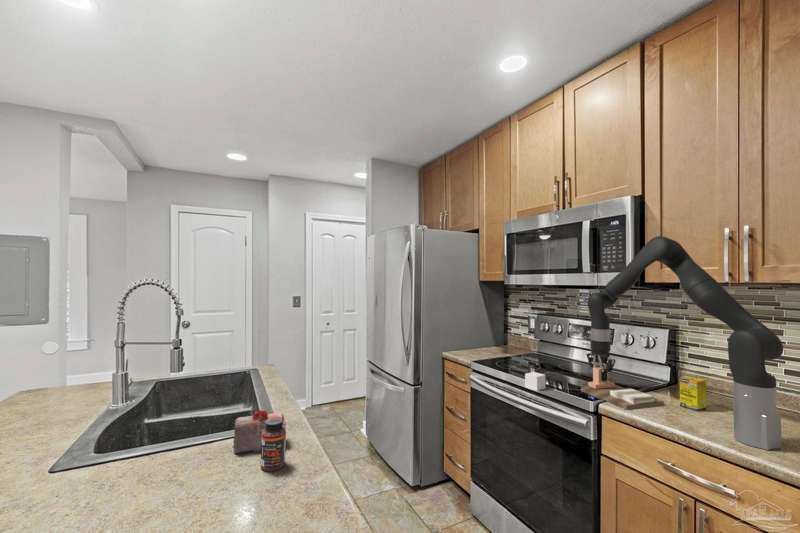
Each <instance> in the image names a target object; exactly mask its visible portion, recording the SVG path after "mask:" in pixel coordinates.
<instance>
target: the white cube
mask: <svg viewBox="0 0 800 533" xmlns="http://www.w3.org/2000/svg"><path fill="white" fill-rule="evenodd" d="M524 388H527V389H529V390H533V391H536V392H538V391H541V390H545V389H546V374H544V373H539V372H536V371H531V372H528V373H524Z"/></svg>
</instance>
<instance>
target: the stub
mask: <svg viewBox="0 0 800 533" xmlns="http://www.w3.org/2000/svg"><path fill="white" fill-rule="evenodd" d="M604 369H605V367H604ZM601 372H602V371H601V367H595V368H592V381H588V382H587V383H588V384H587V387H592V388H595V389H600V388H610V387H615V385H616V383H615V382H613V381H611V380H609V372H608V373H607V381H602V380H601Z"/></svg>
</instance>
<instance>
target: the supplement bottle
mask: <svg viewBox="0 0 800 533" xmlns="http://www.w3.org/2000/svg"><path fill="white" fill-rule="evenodd" d="M286 430H287V429H286ZM286 430H285V428H284V427H282V419H279V418H274V419H270V420H268V421H266V429H264V430H263V432H262V435H261V451H260V469H262V470H263V471H266V472H274V471H277V470H280V469H282V468H283V467H284V466H285V464H286V450H287V449H286V446H287V445H286V443H287V441H286V440H287V431H286Z"/></svg>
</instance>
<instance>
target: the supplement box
mask: <svg viewBox="0 0 800 533" xmlns="http://www.w3.org/2000/svg"><path fill="white" fill-rule="evenodd" d="M679 407H681V408H686V409H689V410H691V411H694V412H697V411H698V412H701V411H705V410H707V380H706V379H702V378H698V377H695V376H691V375H686V376H681V377H679Z"/></svg>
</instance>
